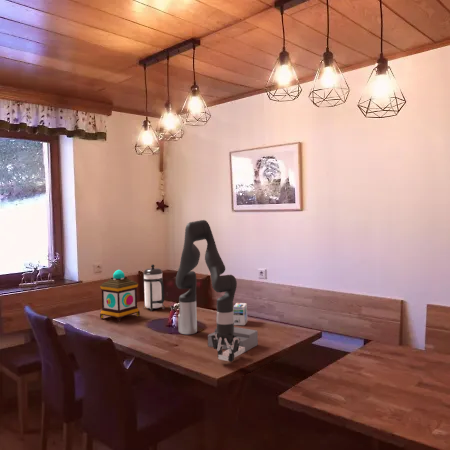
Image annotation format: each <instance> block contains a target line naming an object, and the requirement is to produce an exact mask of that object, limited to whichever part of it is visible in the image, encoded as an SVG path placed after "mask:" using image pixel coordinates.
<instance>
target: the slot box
mask: <svg viewBox="0 0 450 450" xmlns="http://www.w3.org/2000/svg"><path fill="white" fill-rule="evenodd" d="M214 334H216V335H217V327H216V328H214V331H213V332H211V333H209V334H207V346H208V347H211V348H213V343H212V338H211V336H212V335H214ZM258 335H259V334H258V330H256V329H255V330H254V329H249V328H242V327H237V326H236V327H235V326H234V337H235V338H237V339H238V338H240V344H239V346H241V347H245V352H243V353H242V354H244V353H247V352H248V351H250V350H251V349H253V348H255V347H257V346H258V344H259V343H258V341H259V340H258V339H259V337H258ZM217 340H218V338H217ZM218 342H219V340H218ZM233 344H234V340H233ZM222 350H224V351H226V350H228V348H227V346H226V345H223V348H222Z"/></svg>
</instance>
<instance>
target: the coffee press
mask: <svg viewBox="0 0 450 450" xmlns="http://www.w3.org/2000/svg"><path fill="white" fill-rule="evenodd" d="M143 294H144V295H143V296H144V298H143V299H144V300H143V301H144V304H143V305H144V306H143V307H142V309H143V308H147V309H149V310H150V311H149V312H153V311H154V309H159V308H162V310H165V309H166V306H165V305H164V302H165V285H164V281H163V270H162V268H160V267H155V264H151V266H150V267H148V268H146V269H144V271H143ZM152 310H153V311H152Z"/></svg>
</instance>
